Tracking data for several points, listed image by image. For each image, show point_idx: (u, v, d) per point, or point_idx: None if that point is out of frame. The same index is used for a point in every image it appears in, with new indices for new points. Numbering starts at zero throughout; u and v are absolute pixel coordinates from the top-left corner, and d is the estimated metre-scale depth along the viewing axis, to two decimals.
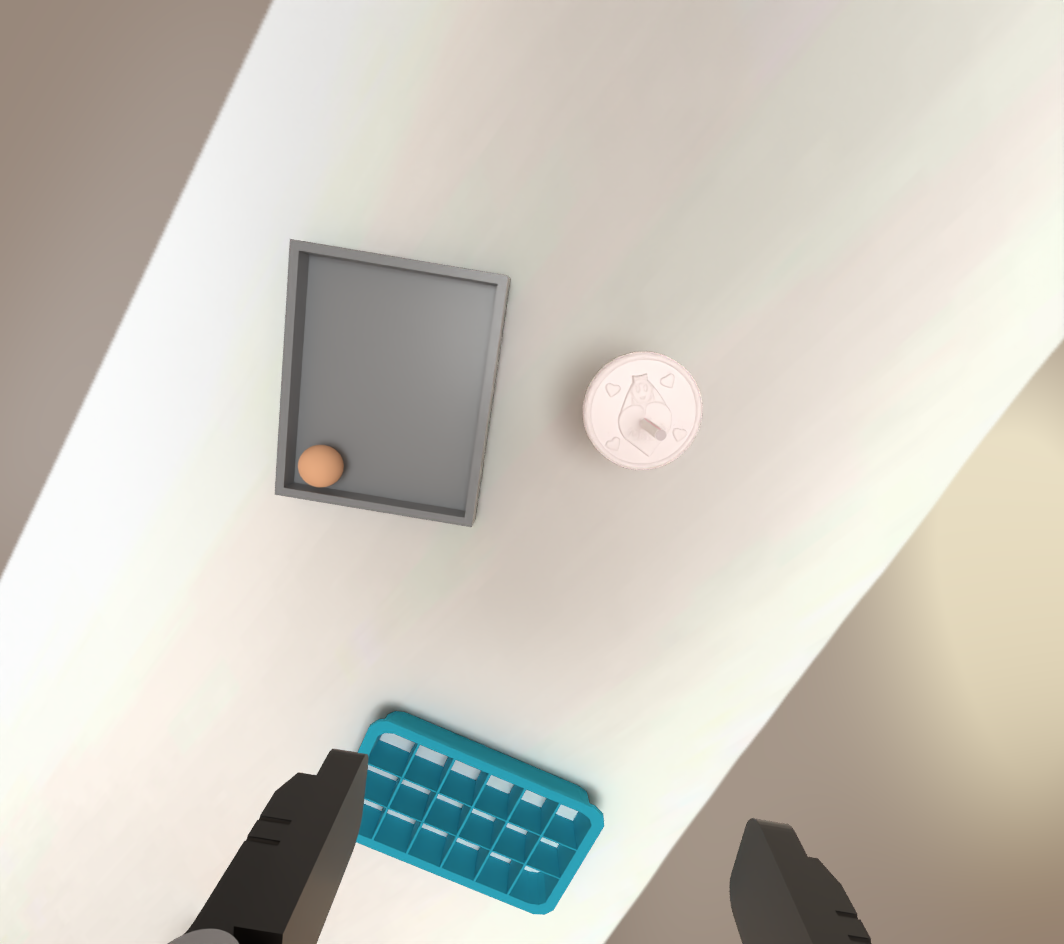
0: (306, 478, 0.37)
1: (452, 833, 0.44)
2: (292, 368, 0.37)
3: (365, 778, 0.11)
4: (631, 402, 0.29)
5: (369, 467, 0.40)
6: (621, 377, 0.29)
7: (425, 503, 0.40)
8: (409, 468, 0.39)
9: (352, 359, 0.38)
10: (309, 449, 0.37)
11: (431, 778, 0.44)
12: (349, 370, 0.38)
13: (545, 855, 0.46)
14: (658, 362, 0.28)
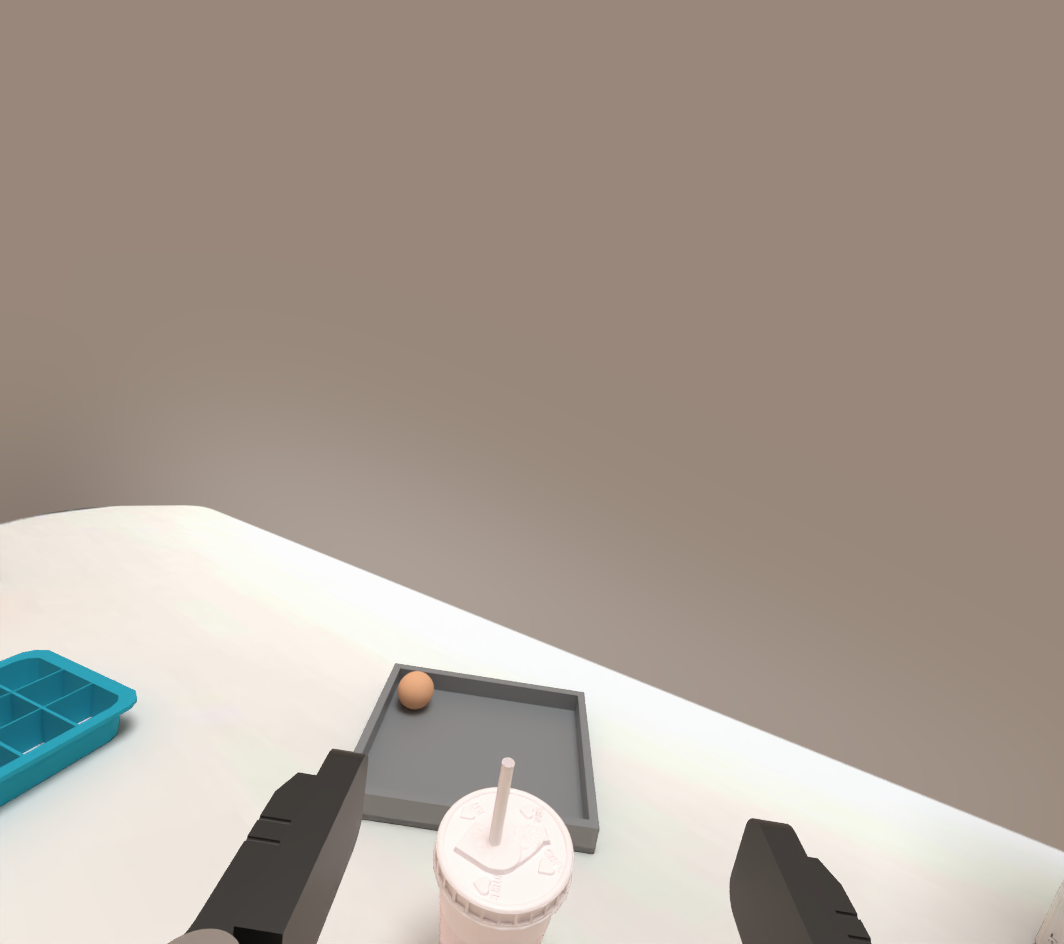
0: (410, 672, 0.46)
1: None
2: (493, 684, 0.48)
3: (365, 778, 0.11)
4: (516, 826, 0.25)
5: (406, 729, 0.43)
6: (541, 820, 0.26)
7: None
8: (402, 757, 0.40)
9: (501, 727, 0.45)
10: None
11: None
12: (492, 724, 0.45)
13: None
14: (564, 855, 0.24)
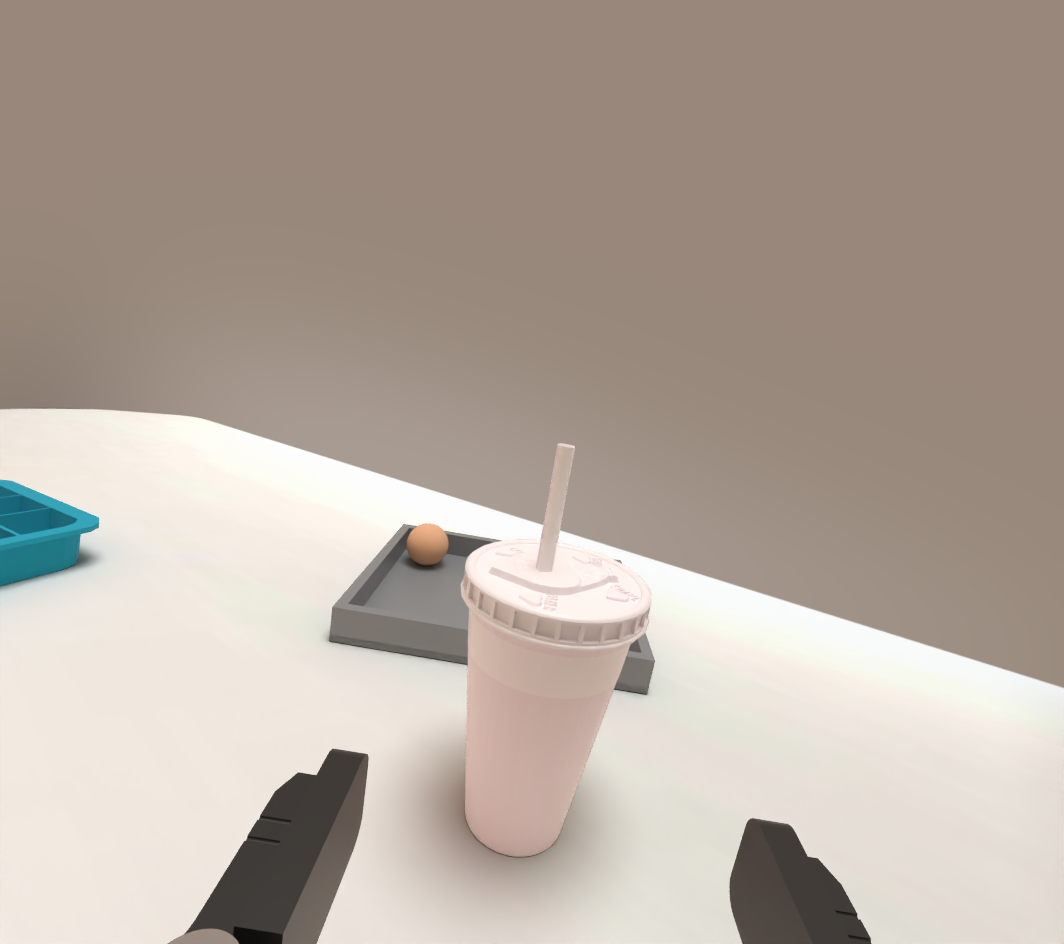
0: None
1: None
2: None
3: (365, 778, 0.11)
4: (571, 563, 0.19)
5: (416, 580, 0.37)
6: (602, 566, 0.20)
7: (365, 603, 0.33)
8: (411, 600, 0.34)
9: None
10: (446, 536, 0.40)
11: None
12: None
13: None
14: (639, 590, 0.18)
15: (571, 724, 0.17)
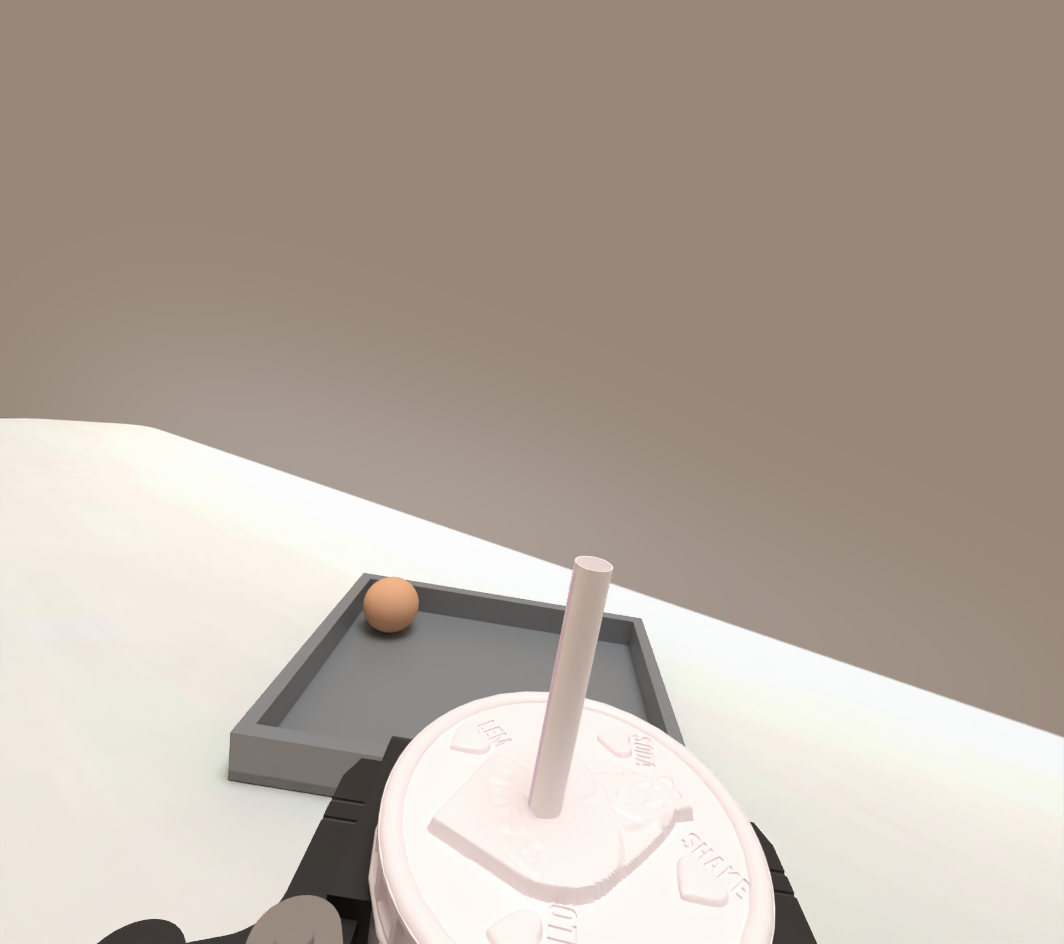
0: None
1: None
2: (508, 604, 0.33)
3: None
4: (598, 772, 0.10)
5: (373, 657, 0.28)
6: (653, 762, 0.10)
7: (294, 706, 0.23)
8: (361, 694, 0.25)
9: (520, 660, 0.29)
10: (416, 592, 0.31)
11: None
12: (506, 656, 0.30)
13: None
14: (740, 849, 0.09)
15: None
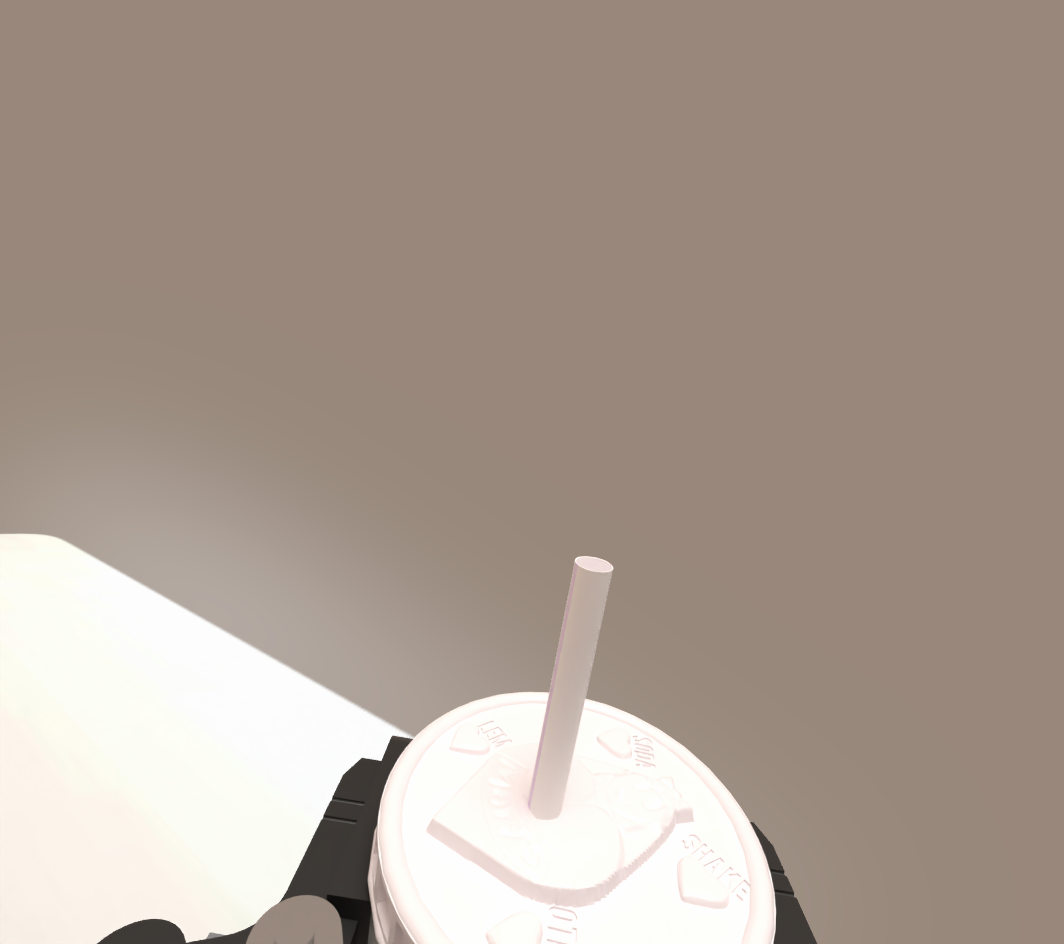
0: None
1: None
2: None
3: None
4: (598, 772, 0.10)
5: None
6: (653, 762, 0.10)
7: None
8: None
9: None
10: None
11: None
12: None
13: None
14: (740, 850, 0.09)
15: None
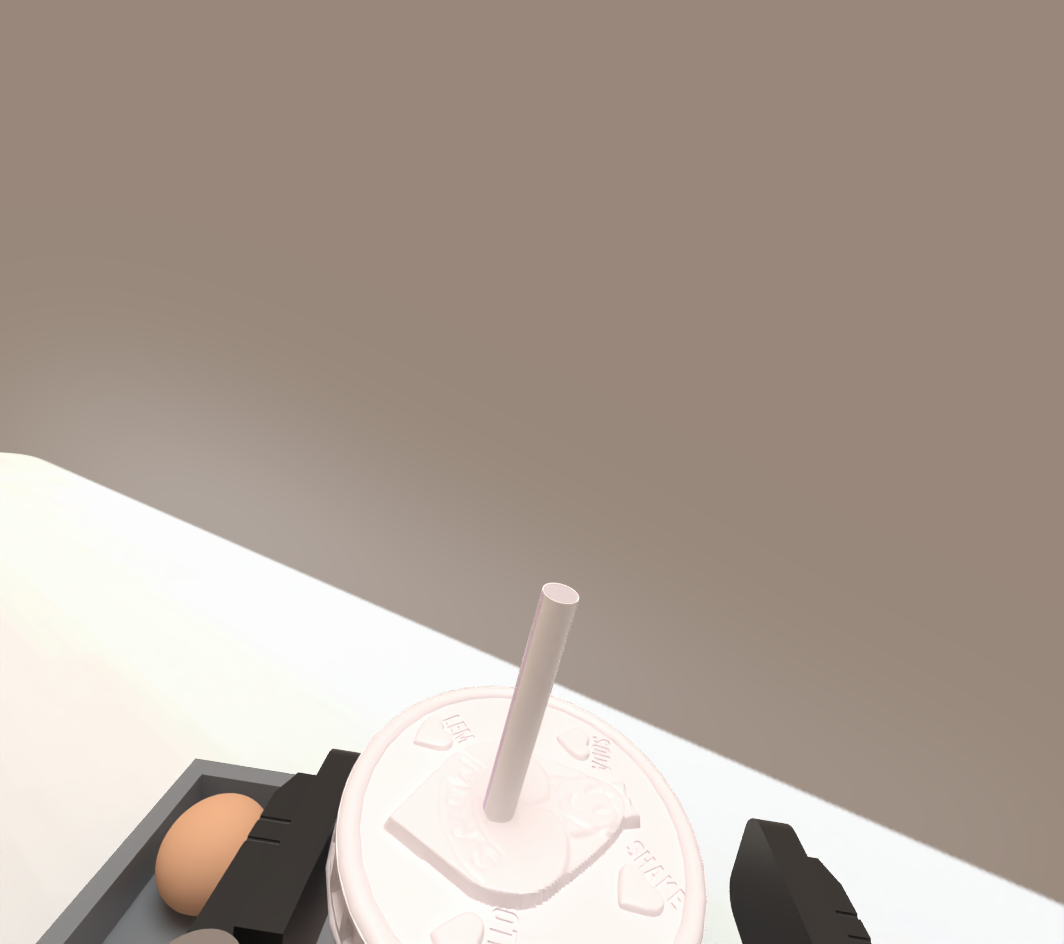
0: (203, 801, 0.16)
1: None
2: None
3: None
4: (554, 775, 0.10)
5: None
6: (609, 765, 0.11)
7: None
8: None
9: None
10: None
11: None
12: None
13: None
14: (680, 859, 0.09)
15: None
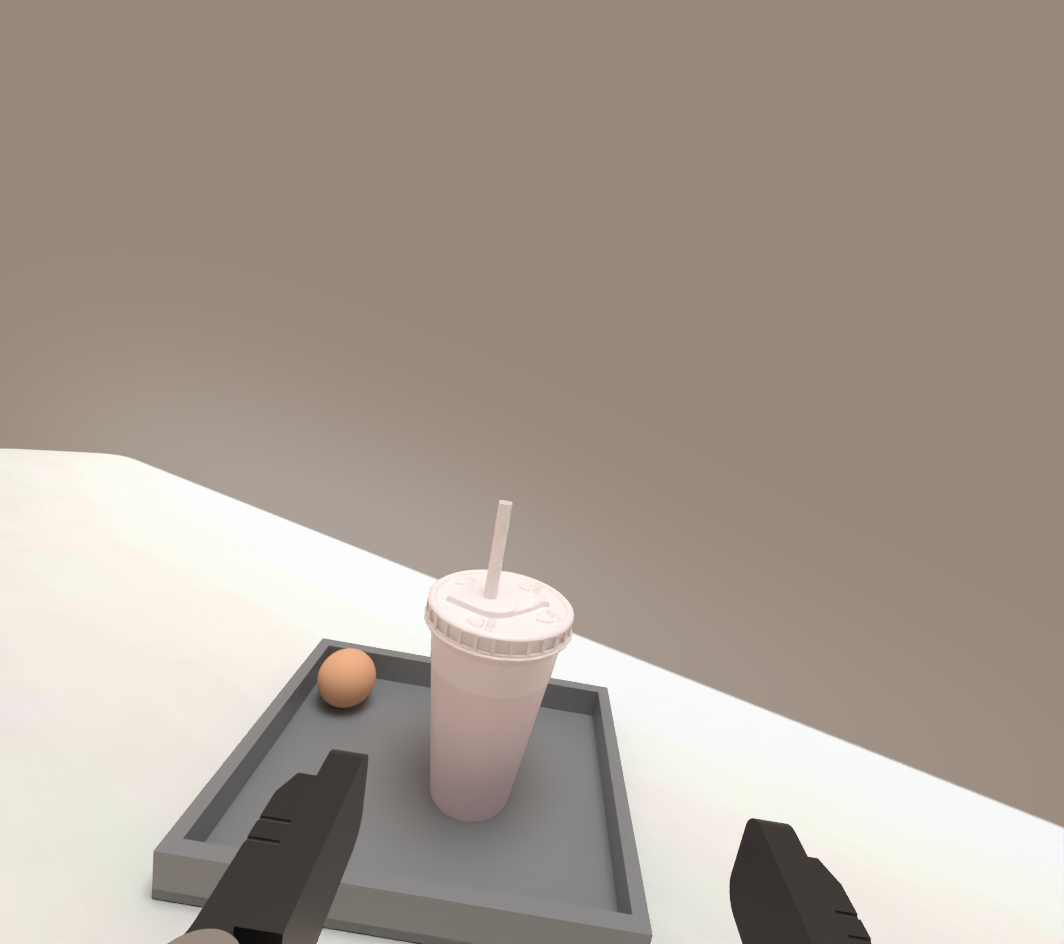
0: (339, 650, 0.29)
1: None
2: None
3: (365, 778, 0.11)
4: (513, 591, 0.24)
5: (323, 739, 0.27)
6: (539, 592, 0.25)
7: (233, 803, 0.22)
8: None
9: None
10: None
11: None
12: None
13: None
14: (564, 613, 0.23)
15: (507, 718, 0.22)
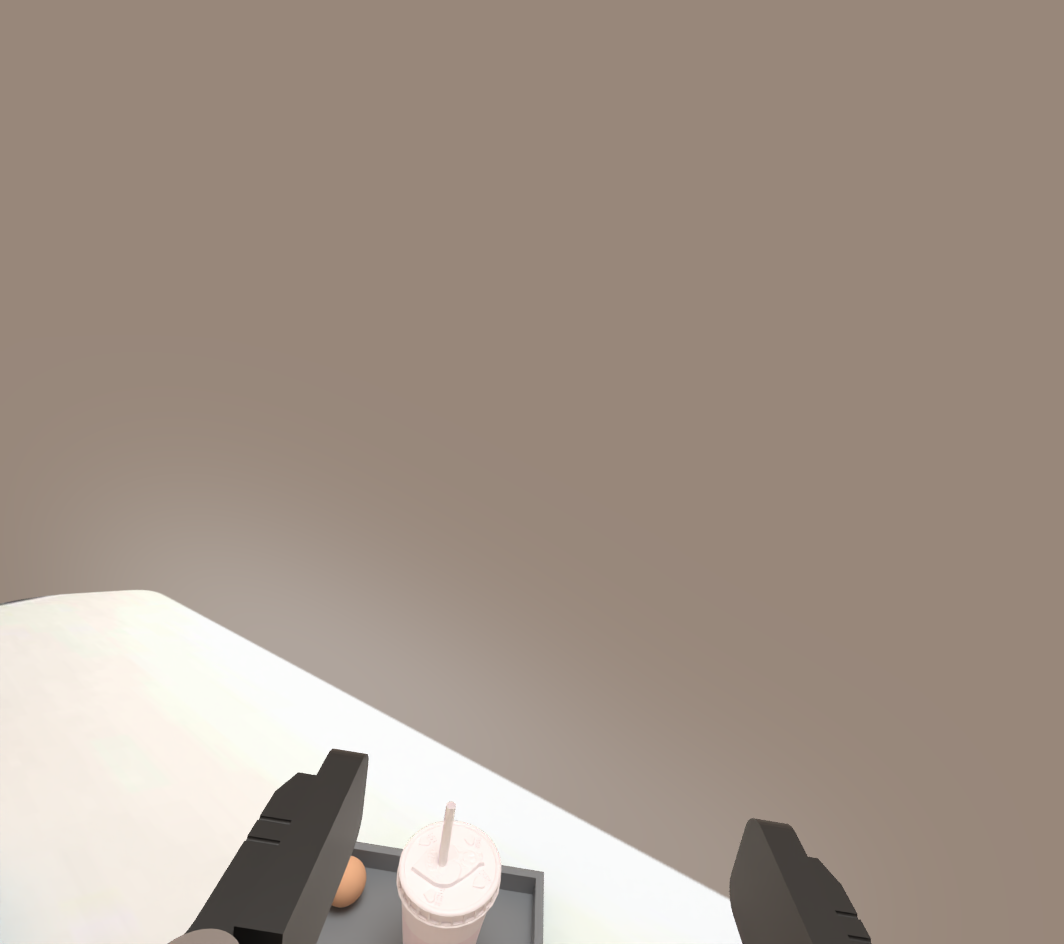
0: None
1: None
2: None
3: (365, 778, 0.11)
4: (460, 851, 0.34)
5: (328, 940, 0.37)
6: (480, 846, 0.35)
7: None
8: None
9: None
10: (364, 868, 0.40)
11: None
12: None
13: None
14: (493, 874, 0.33)
15: None
